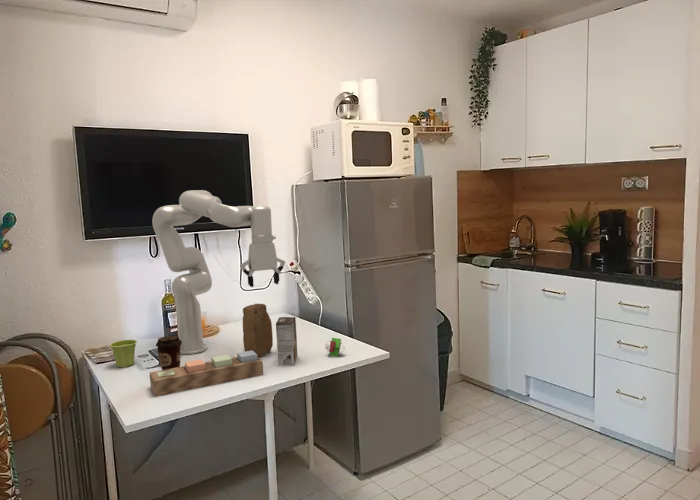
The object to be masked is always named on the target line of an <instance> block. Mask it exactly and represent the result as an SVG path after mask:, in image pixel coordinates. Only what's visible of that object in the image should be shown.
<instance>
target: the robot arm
mask: <svg viewBox="0 0 700 500" xmlns="http://www.w3.org/2000/svg"><path fill="white" fill-rule="evenodd" d="M178 203H179V204H170V205H163V206H160V207H158V208H157V209H156V210H155V211H154V213H153V215H152V222H151V223H152V224H151V225H152V228H153V231H154V233H155V235H156V238H157V240H158V241H159V243H160V246H161V249H162V253H163V256H164V258H165V261H166V264H167V267H168V269H169V270H170V271H171V272H173V273H182V272H186V271H188V273H184V274H181V275H178V276H176V277H175V278H174V279H173V281H172V283H171V291H172V295H173V298H174V303H175V313H176V314H175V315H176V324H177V325H176V326H177V336H178V337H179V339H180V340H181V341H182V344H181V348H180V352H181V354H180V355H194V354H198V353H203V352H204V351H207V349H208V345H207V343H206V344H205V343H204V340H203V339H204V338H203V326H202V310H201V309H202V308H201V304H200V302H199V299H197V296H199V295H202V294H206V293H207V292H209V291H210V290H211V288H212V286H213V285H212V284H213V280H212V276H211V274H210V270H209V266H208V264H207V262H206V261H207V260H206V259H205V256H204V253H202V251H201V250H200V249H199V248H197V247H195V246H189V247H188V246H187V247H186V246H185V244H184V241H183V238H182V235H180V233H179V232H178V231H177V230H176V229H175V228H174V227H179V226H187V225H191V224H193V223H195V222H196V221H197V220H199V219H200V218H202V217H205V218H209V219H210V220H211V221H212V222H214V223H216V224H219V225H223V226H226V227H230V228H240V227H247V226H250V230H251V243H249V246H248V253H247V254H248V259H247V260H246V261H244V262H243V263H241V264H239V267H240V269H241V270H242V272H243V274H245V275H246V276H247V285H248V286H249V287H250V288H253V287H254V286H255V285H254V276H253V274H254V273H255V272H258V271H259V272H261V271H269V270H273V272H274V273H273V284H275V285H279V282H280V274H281V271H282V270H283V269H284V267H285V264H286V261H285V260H284V259H281V258H279V257H278V256H277V250H276V247H275V243H274V242H273V241H274V240H276V238H277V237H276V235H273V226H272V225H273V224H272V209H271V208H270V207H269V206H263V205H261V206H255V205H254V206H253V205H237V206H230V205H227V204H223V203H222V200H221V199H220V198H219V197H218V196H215V195H212V193H211V192H209V190H208V191H207V190H204V189H201V190H200V189H199V190H198V189H196V190H195V189H194V190H191V189H190V190H186V191H184V192H182V193H181V194H180V196H179V199H178ZM278 263H280V264H279V266H278ZM246 266H248V270H247V268H246Z"/></svg>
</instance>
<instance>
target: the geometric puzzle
mask: <svg viewBox="0 0 700 500" xmlns="http://www.w3.org/2000/svg"><path fill="white" fill-rule="evenodd" d="M341 345H342V346H343V347H342V349H343V350H342V351H341ZM324 348H325V350H326V351H327V352H328V356H333V357H339V354H340V353H342V352H344V350H346V348H345V346H344V345H343V341H342V338H336V337H332V338H331V339H330V340H329V341H327V342H326V343H325V344H324ZM340 351H341V352H340Z"/></svg>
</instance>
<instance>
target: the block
mask: <svg viewBox="0 0 700 500" xmlns="http://www.w3.org/2000/svg"><path fill="white" fill-rule="evenodd" d="M267 311H268V309H267V305H266V304H264V303H254V304H250V305H246V306H245V307H243V309H242V314H243V316H242V334H243V336H242V338H243V339H242V341H243V350H244V351H243V352H245V351H251V350H253V351H254V352H255V353H256V354H257V356H258V357H259V358H262V357H265V356H267V355H269V354H270V353H271V351H272V348H273V343H274V342H273V341H274V340H273V339H274V338H273V324H272V320H271V317H270V315H269V313H268V312H267Z"/></svg>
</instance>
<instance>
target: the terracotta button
mask: <svg viewBox="0 0 700 500" xmlns="http://www.w3.org/2000/svg"><path fill="white" fill-rule="evenodd" d="M184 366H185V370H186V372H187V373H191V372H197V371H202V370H206V368H205V363H204V360H203V359H195V360H190V361H185V362H184Z"/></svg>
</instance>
